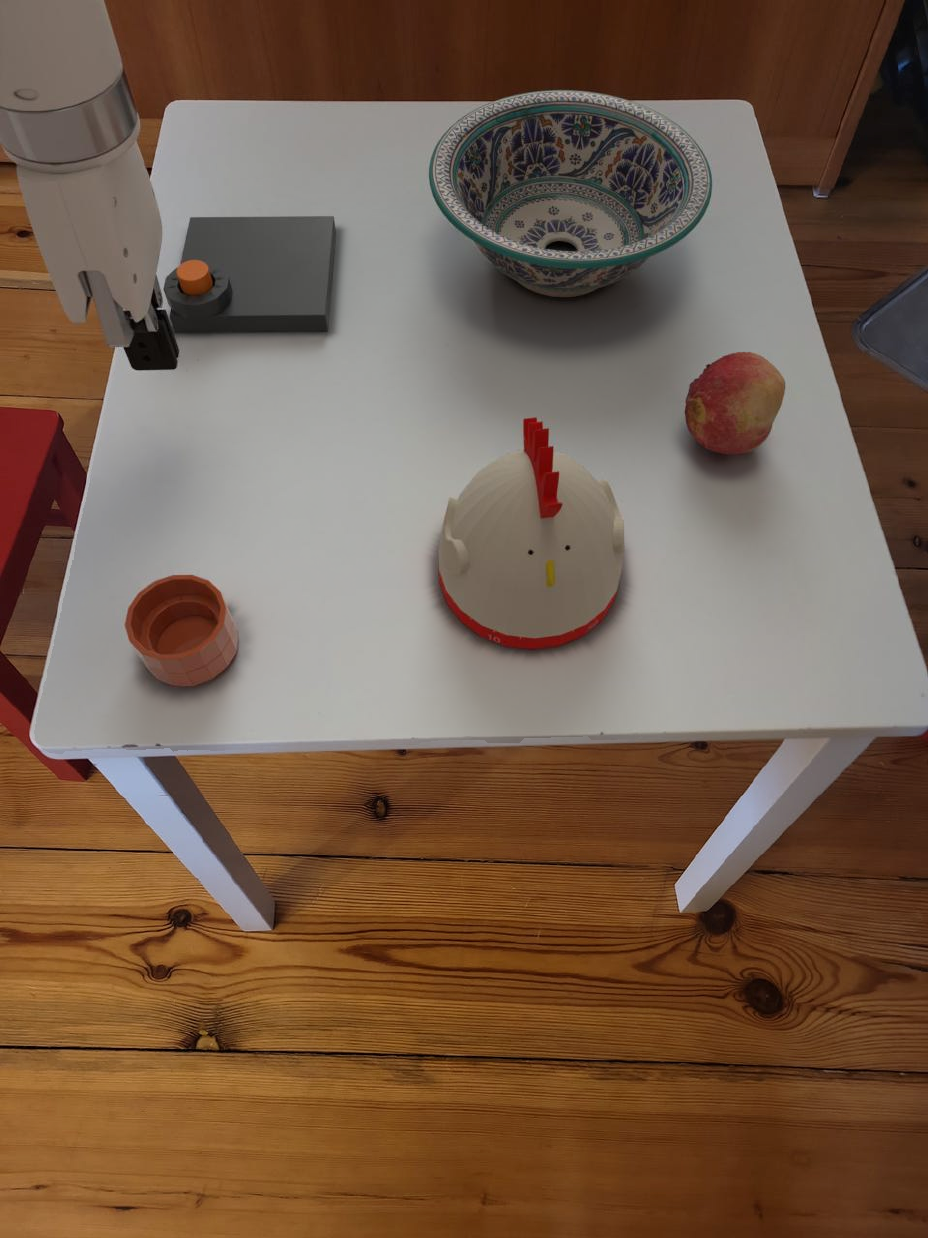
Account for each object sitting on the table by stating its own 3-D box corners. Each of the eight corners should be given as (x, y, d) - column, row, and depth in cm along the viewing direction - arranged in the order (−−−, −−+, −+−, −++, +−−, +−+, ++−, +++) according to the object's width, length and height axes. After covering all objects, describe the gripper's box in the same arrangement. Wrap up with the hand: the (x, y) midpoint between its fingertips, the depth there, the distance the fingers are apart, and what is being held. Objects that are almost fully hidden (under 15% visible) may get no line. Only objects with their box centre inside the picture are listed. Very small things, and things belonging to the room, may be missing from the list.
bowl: (692, 193, 94) (714, 101, 85) (685, 366, 81) (711, 277, 73) (453, 170, 96) (452, 77, 87) (410, 335, 83) (405, 245, 75)
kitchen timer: (452, 660, 66) (450, 540, 53) (427, 510, 73) (420, 371, 60) (638, 635, 67) (680, 512, 54) (596, 490, 74) (625, 349, 61)
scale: (170, 335, 83) (159, 304, 80) (191, 233, 90) (182, 201, 87) (327, 334, 83) (322, 303, 80) (336, 232, 90) (331, 200, 87)
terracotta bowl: (138, 690, 65) (117, 660, 61) (153, 608, 68) (134, 575, 64) (234, 688, 65) (219, 658, 61) (243, 607, 68) (230, 573, 64)
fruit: (730, 490, 74) (758, 422, 67) (656, 440, 77) (675, 370, 70) (785, 438, 77) (817, 368, 70) (711, 391, 80) (735, 319, 73)
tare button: (179, 296, 81) (174, 280, 80) (183, 275, 82) (178, 259, 81) (210, 296, 81) (206, 280, 80) (214, 275, 82) (210, 259, 81)
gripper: (20, 34, 53) (119, 292, 69) (-41, 193, 45) (86, 442, 61) (150, 33, 53) (219, 290, 69) (111, 191, 46) (198, 439, 61)
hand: (156, 361), depth 65 cm, fingers closed
